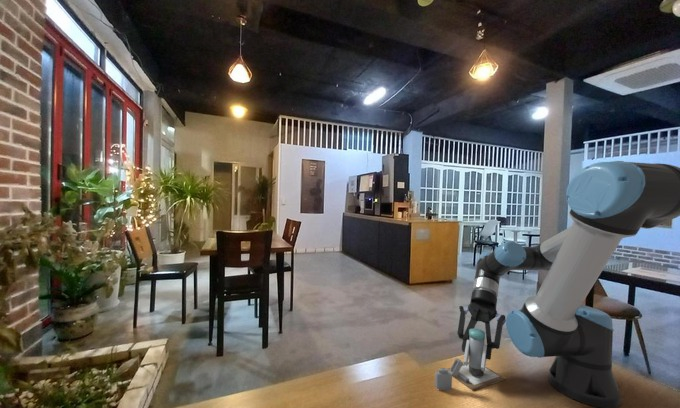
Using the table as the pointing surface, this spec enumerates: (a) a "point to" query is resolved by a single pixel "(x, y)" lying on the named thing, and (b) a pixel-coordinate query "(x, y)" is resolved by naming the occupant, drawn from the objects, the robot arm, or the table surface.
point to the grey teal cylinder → (476, 351)
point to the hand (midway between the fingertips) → (473, 366)
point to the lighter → (447, 375)
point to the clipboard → (477, 378)
